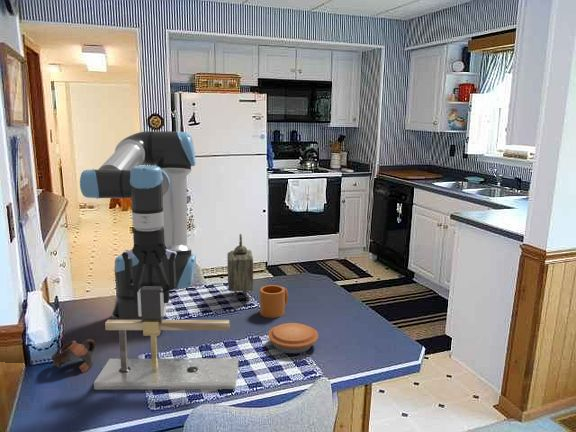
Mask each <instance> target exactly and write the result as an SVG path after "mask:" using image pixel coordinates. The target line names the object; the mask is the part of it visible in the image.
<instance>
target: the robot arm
mask: <svg viewBox="0 0 576 432" xmlns="http://www.w3.org/2000/svg"><path fill="white" fill-rule="evenodd" d="M195 153H196V151H195V147H194V142H193V137H192V135H191V134H190V132H187V131H178V130H177V131H174V130H173V131H172V130H171V131H170V130H168V131H167V130H166V131H165V130H164V131H162V130H161V131H159V130H158V131H153V130H148V131H146V130H145V131H140V132H137V133H133V134H131V135H129V136H127V137H125V138H123V139H122V140H120V142H118V143H117V144H116V146H115V149H114V152H113V154H111V155H110V157H109V158H108V159H107V160H106V161H105V162H104V163H103V164H102V165H101V166H100V167H99V168H98V169H94V168H92V169H85V170H82V172H81V173H80V177H79V188H80V192H81V194H82V196H83V197H85V198H87V199H90V198H91V199H130V200H131V211H132V212H131V215H132V227H133V228H134V229H133V231H132V234H133V235H132V236H133V237H132V238H133V247H132V249H130V250H128V249H126V250H125V251H124V252H122V254H118V256H117V257H116V258H115V260H114V270H113V272H114V281H115V297H116V299H115V302H114V306H113V309H112V313H111V316H112V317H111V320H142V315H141V295H140V289H141V288H142V287H143V286H162V290H161V292H160V305H161V316H163V317H165V315H166V313H167V304H168V303H169V302H170V291H173V290H175V289H176V290H179V289H188V288H190V287H191V286H192V284H193V282H194V277H195V270H196V262H197V261H196V258H197V256H196V254H194V253H192V248H191V247H190V246H189V245H188V230H187V229H188V222H187V221H188V219H187V218H188V217H187V215H188V203H187V202H188V199H187V198H188V195H187V193H188V190H187V189H188V188H187V187H188V186H187V185H188V182H187V181H188V180H187V179H188V178H187V177H188V175H189V174H190V173H192V167H194V166H196V164H197V163H196V155H195Z"/></svg>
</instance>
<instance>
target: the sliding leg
mask: <svg viewBox="0 0 576 432" xmlns="http://www.w3.org/2000/svg"><path fill="white" fill-rule="evenodd" d="M161 290H162V286H143V287H142V288H141V289H140V295H141V315H142V322H143V330H142V332H143V334H142V336H143V337H144V336H146V337H147V336H148V337H149V336H150V351H151V352H150V353H151V359H152V369H157V368H158V360H157V359H158V341H157V337H159V336H160V334H161V332H162V330H160V326H159V322H162V320H164V318H165V316H161V305H160V292H161Z"/></svg>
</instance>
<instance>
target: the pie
mask: <svg viewBox="0 0 576 432" xmlns="http://www.w3.org/2000/svg"><path fill="white" fill-rule="evenodd" d="M267 335H268V339H269V340H270V341H271V343H272V344H273V346H274V347H275V348H276V349H277V350H278V351H280V352H282V353H286V354H292V353H294V354H295V355H296V354H301V353H305V352H307V351H309V349H311V347H312V346H313V344H315V343H316V342H317V340H318V338H319V332H318V331H317V330H316V329H315V328H313V327H311V326H309V325H306V324H303V323H300V322H299V323H298V322H285V323H281V324H279V325H276V326H274V327H271V329H270V330H268V333H267ZM294 354H293V355H294Z"/></svg>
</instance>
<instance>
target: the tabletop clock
mask: <svg viewBox="0 0 576 432" xmlns="http://www.w3.org/2000/svg"><path fill="white" fill-rule="evenodd" d="M238 243H239V245H237V246H235V248H234V249H233V250H230V251H229V252H227V256H226V257H227V285H228V286H227V287H228V290H230V291H232V292H233V293H232V296H233V297H237V296H238V293H237V292H243V294H244V295H245V300H246V301H247V302H249V301H250V300H251V297H250V296H248V293H247V292H250V291H253V290H254V257H253V254H252V250H251V249H247V247H246V246H245V245H243V235H242V233H239V242H238Z"/></svg>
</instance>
